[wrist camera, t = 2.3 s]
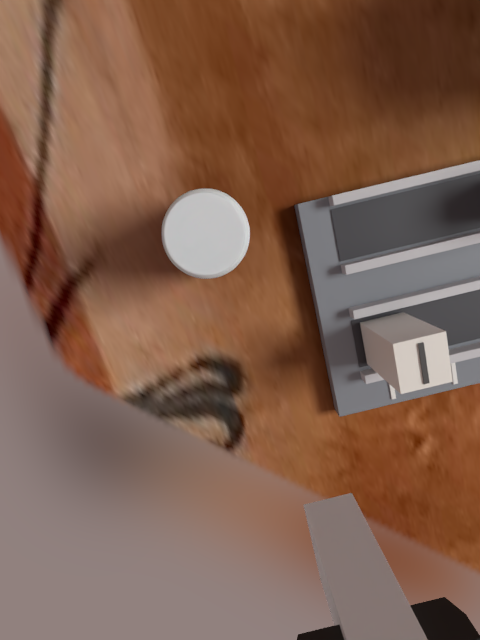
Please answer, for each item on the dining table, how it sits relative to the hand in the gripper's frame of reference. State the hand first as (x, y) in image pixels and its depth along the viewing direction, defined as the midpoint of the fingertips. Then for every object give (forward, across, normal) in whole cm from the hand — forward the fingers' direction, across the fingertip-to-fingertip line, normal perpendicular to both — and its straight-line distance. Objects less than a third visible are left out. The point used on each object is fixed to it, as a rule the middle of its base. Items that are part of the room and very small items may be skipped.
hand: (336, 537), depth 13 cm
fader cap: (+16, +8, 0) cm, 18 cm away
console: (+18, +15, +3) cm, 24 cm away
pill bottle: (+18, -2, +10) cm, 21 cm away
